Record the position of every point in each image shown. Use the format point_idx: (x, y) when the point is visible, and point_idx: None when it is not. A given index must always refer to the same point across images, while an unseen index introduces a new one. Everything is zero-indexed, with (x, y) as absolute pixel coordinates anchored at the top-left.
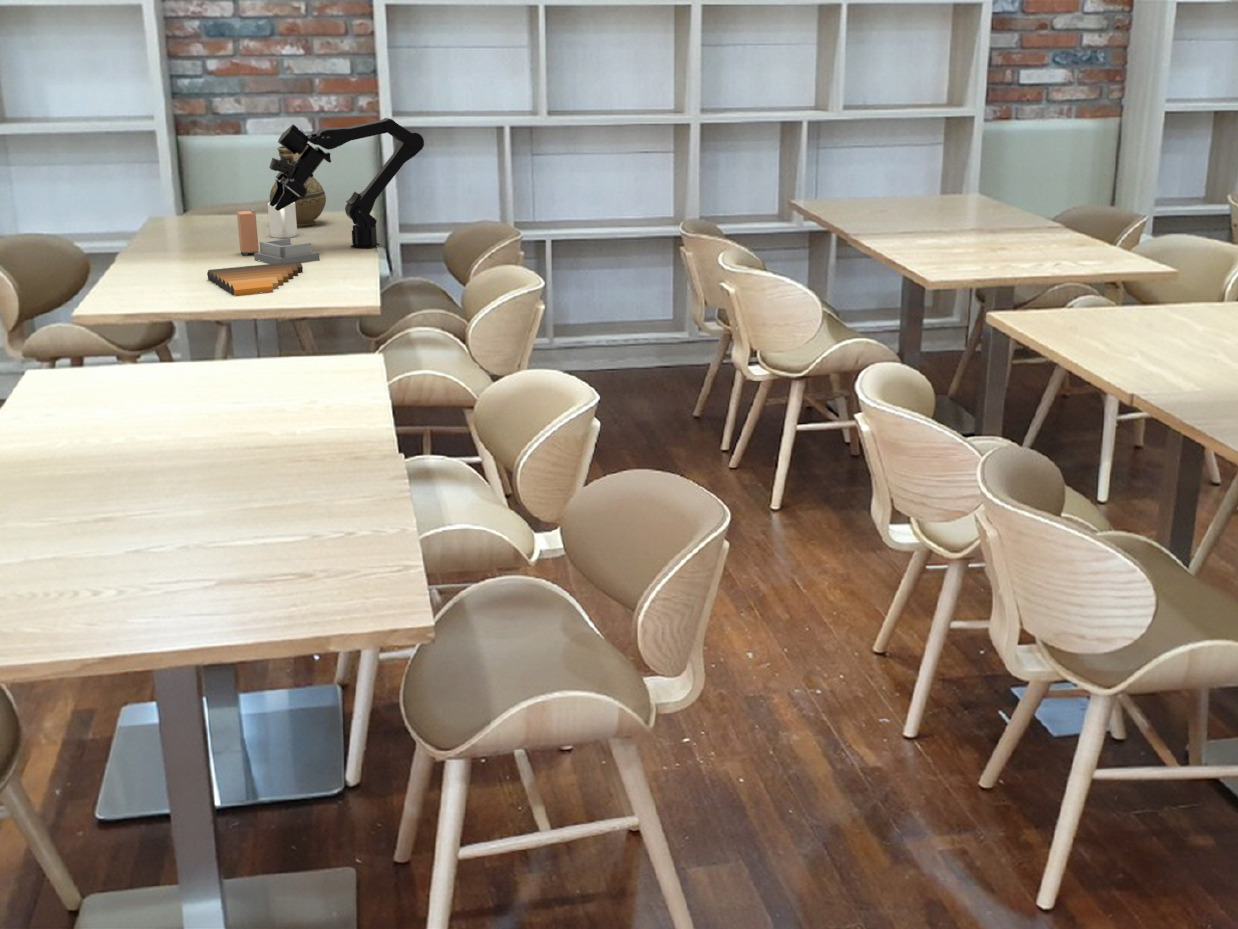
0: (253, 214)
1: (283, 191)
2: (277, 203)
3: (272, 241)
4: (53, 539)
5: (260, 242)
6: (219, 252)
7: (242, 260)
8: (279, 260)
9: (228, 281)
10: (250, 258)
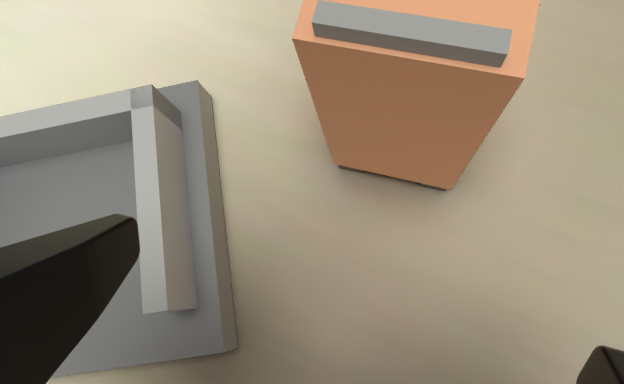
0: (299, 21)
1: None
2: (59, 242)
3: (136, 167)
4: None
5: (143, 86)
6: (551, 19)
7: (242, 46)
8: None
9: None
10: (268, 96)
